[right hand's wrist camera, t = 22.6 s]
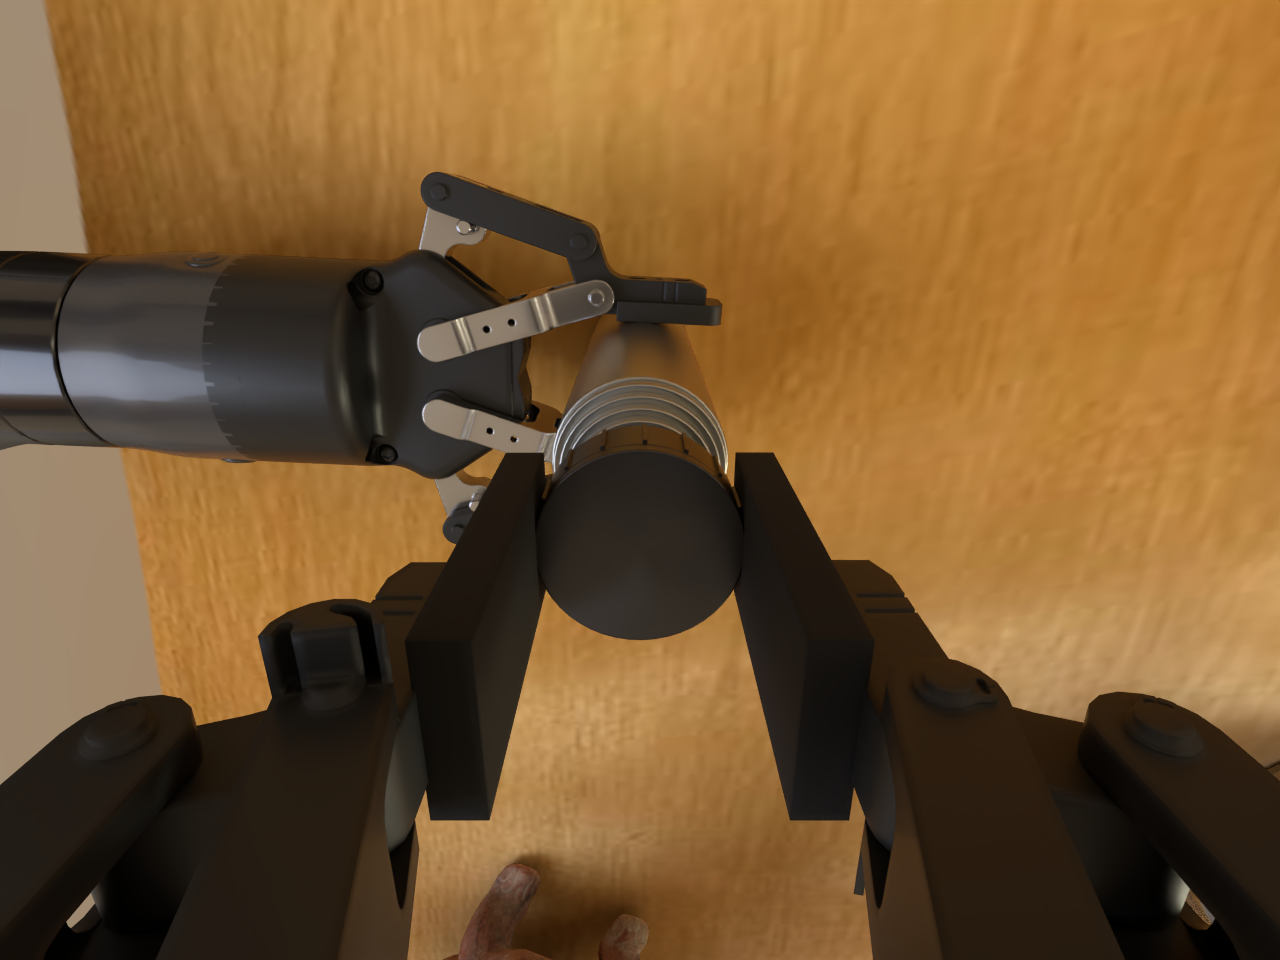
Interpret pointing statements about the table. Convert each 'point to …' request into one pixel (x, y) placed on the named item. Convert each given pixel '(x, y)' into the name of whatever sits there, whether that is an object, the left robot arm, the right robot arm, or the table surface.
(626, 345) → the bottle
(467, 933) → the sculpture
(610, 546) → the cap
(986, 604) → the table surface
